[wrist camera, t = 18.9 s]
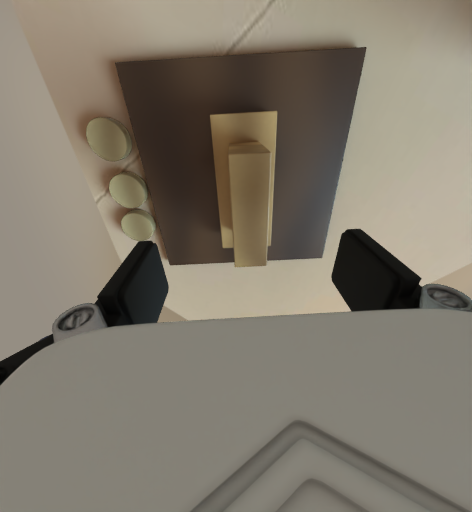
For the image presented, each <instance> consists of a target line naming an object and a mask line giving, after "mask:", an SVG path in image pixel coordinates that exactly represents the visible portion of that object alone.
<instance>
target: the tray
mask: <svg viewBox="0 0 472 512" xmlns="http://www.w3.org/2000/svg"><path fill="white" fill-rule="evenodd" d="M365 52H366V47H360V48H343V49H327V50H311V51H295V52H278V53H262V54H246V55H229V56H213V57H197V58H180V59H164V60H148V61H132V62H116V63H115V65H116V68H117V72H118V76H119V79H120V83H121V87H122V90H123V94H124V98H125V101H126V105H127V109H128V113H129V116H130V120H131V124H132V127H133V131H134V135H135V138H136V142H137V146H138V149H139V153H140V157H141V161H142V164H143V168H144V172H145V175H146V179H147V183H148V186H149V190H150V194H151V197H152V201H153V205H154V209H155V212H156V216H157V220H158V223H159V227H160V231H161V234H162V238H163V242H164V245H165V249H166V253H167V257H168V260H169V264H170V265H186V264H207V263H228V262H234V248H223V247H222V236H221V226H220V215H219V205H218V195H217V184H216V174H215V164H214V153H213V143H212V132H211V122H210V115H212V114H230V113H247V112H264V111H277V130H276V150H275V170H274V191H273V211H272V231H271V246H268V251H267V261H269V260H290V259H310V258H322V256H323V251H324V246H325V242H326V237H327V232H328V228H329V223H330V218H331V213H332V209H333V204H334V199H335V194H336V190H337V185H338V180H339V175H340V171H341V166H342V161H343V157H344V152H345V147H346V142H347V138H348V133H349V128H350V123H351V119H352V114H353V109H354V105H355V100H356V95H357V90H358V86H359V81H360V76H361V71H362V67H363V62H364V57H365Z"/></svg>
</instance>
